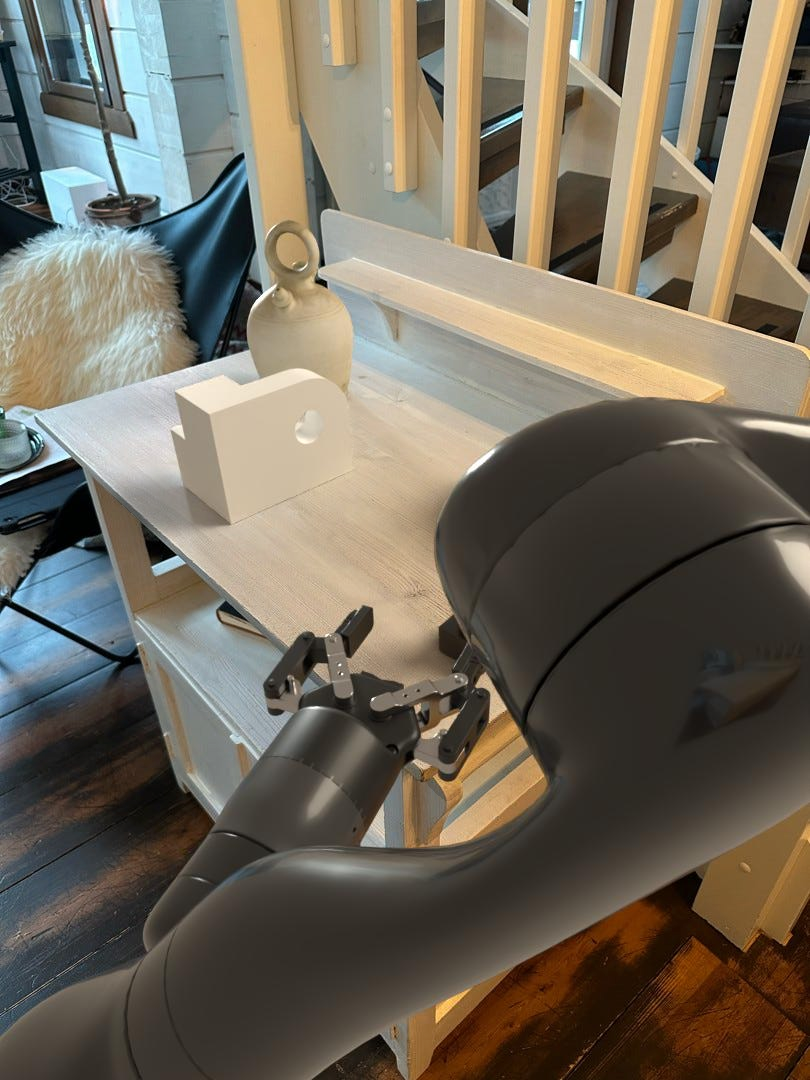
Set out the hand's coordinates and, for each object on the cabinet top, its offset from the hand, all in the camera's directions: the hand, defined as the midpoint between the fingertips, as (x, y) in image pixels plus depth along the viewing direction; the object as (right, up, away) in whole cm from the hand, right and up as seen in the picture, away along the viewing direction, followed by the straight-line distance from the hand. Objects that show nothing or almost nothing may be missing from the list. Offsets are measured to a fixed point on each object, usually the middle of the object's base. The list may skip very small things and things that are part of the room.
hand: (421, 630), depth 55 cm
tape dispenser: (-18, +14, +41) cm, 47 cm away
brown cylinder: (+5, -4, +15) cm, 16 cm away
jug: (-16, +29, +61) cm, 69 cm away
